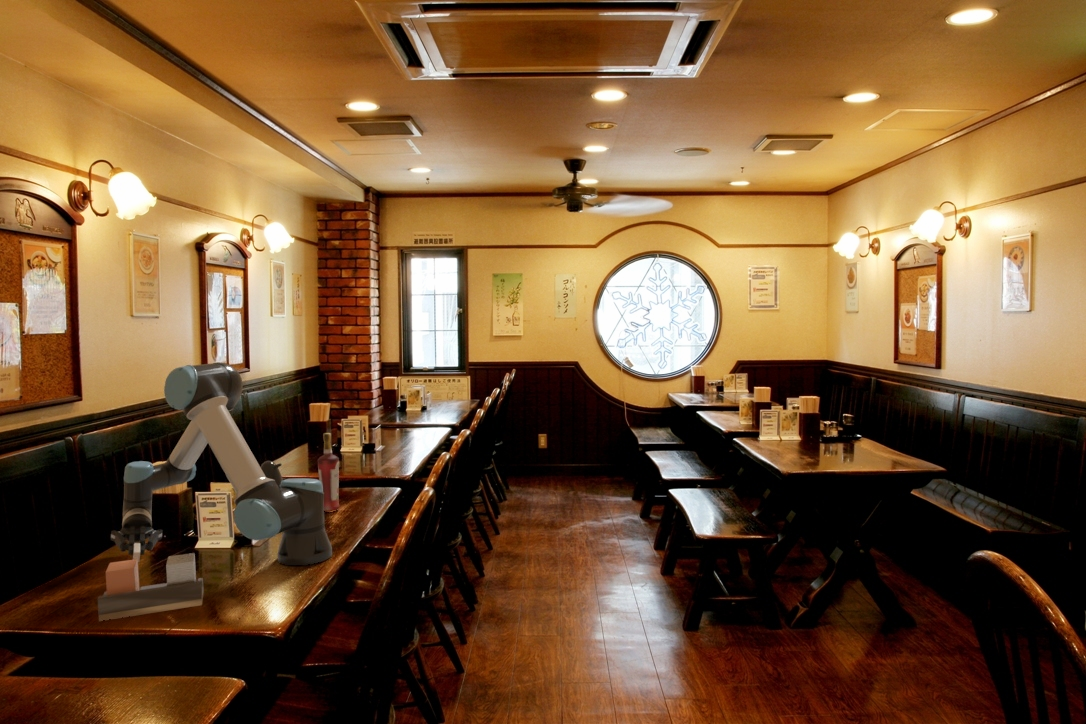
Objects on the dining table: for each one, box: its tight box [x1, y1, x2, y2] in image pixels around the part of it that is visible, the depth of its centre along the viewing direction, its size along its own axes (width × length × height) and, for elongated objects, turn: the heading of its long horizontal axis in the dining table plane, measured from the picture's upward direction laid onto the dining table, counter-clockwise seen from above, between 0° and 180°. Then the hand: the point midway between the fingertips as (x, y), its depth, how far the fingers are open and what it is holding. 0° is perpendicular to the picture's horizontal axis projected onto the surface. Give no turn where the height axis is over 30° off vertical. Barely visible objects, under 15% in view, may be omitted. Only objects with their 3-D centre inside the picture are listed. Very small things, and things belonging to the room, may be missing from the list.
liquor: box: [317, 432, 341, 511], centre depth 263 cm, size 7×7×28 cm
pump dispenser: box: [260, 460, 283, 489], centre depth 280 cm, size 10×10×15 cm
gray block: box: [165, 552, 197, 586], centre depth 184 cm, size 7×6×9 cm
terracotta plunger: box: [105, 559, 140, 595], centre depth 181 cm, size 7×6×9 cm
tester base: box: [97, 577, 204, 622], centre depth 182 cm, size 10×22×6 cm, turn 113°
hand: (136, 557), depth 193 cm, fingers closed
